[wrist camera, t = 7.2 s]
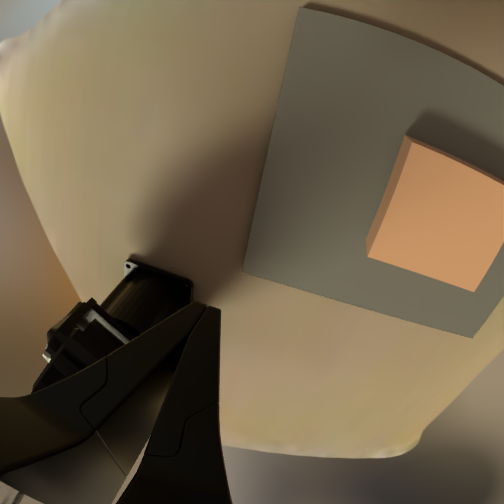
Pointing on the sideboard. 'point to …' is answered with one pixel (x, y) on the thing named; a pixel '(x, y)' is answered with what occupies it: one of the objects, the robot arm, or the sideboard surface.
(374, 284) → the mat
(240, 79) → the sideboard surface
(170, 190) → the sideboard surface
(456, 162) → the tile
